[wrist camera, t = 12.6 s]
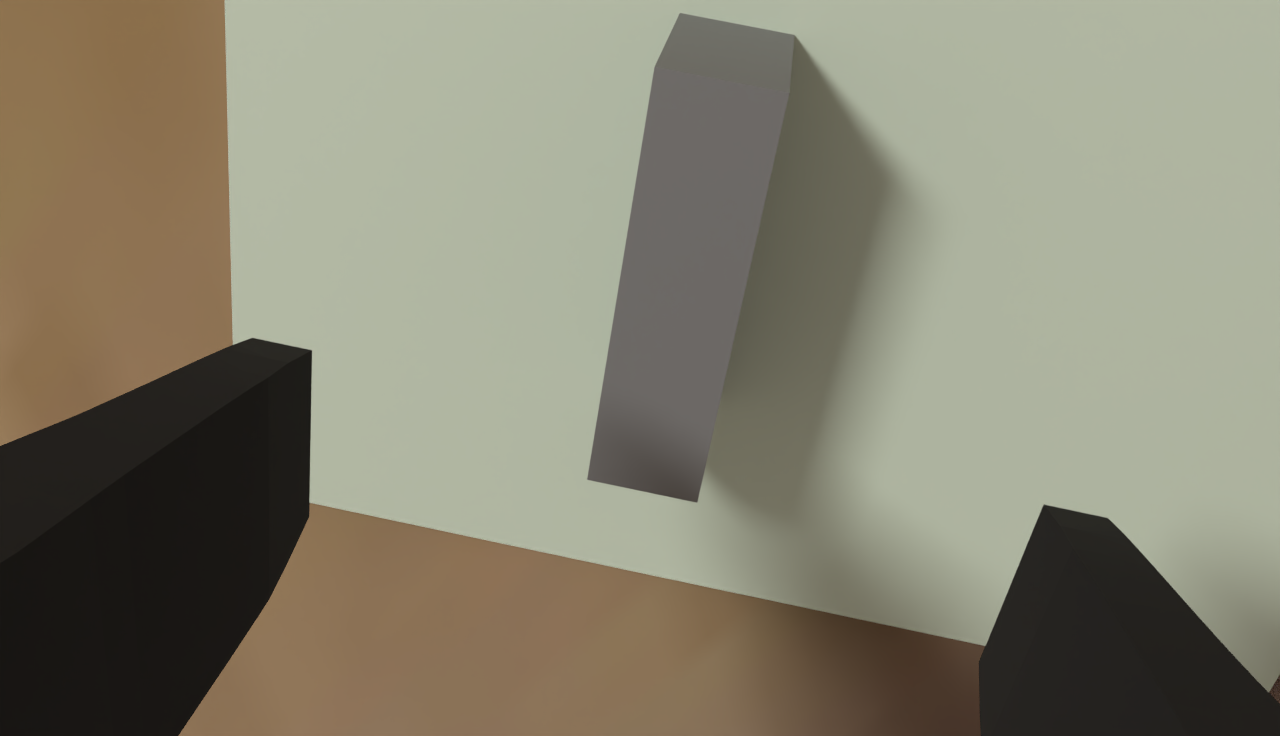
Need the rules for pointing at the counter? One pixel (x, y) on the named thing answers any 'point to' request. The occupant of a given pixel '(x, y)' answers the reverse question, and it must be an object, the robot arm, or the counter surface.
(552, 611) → the counter surface
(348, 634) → the counter surface
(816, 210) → the lid
